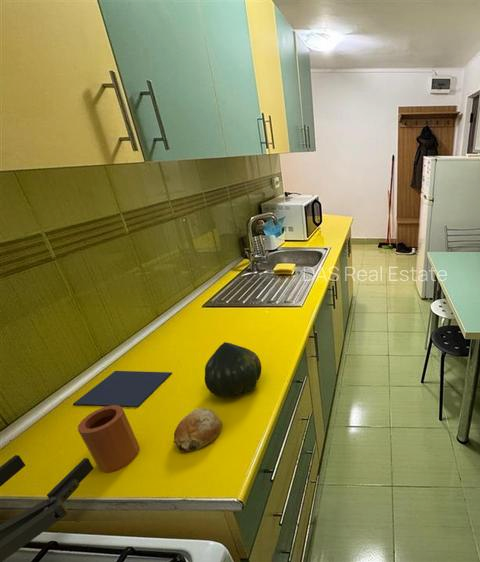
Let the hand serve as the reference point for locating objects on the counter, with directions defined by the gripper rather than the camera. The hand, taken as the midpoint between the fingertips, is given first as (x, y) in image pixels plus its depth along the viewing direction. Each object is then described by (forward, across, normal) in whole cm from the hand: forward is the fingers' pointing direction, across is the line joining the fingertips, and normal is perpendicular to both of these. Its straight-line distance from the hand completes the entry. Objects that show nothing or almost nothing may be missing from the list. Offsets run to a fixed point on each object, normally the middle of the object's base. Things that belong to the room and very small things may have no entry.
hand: (54, 461), depth 56 cm
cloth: (+31, -17, -12) cm, 37 cm away
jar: (+10, 0, -12) cm, 15 cm away
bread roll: (+16, +15, -12) cm, 25 cm away
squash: (+33, +16, -12) cm, 39 cm away
